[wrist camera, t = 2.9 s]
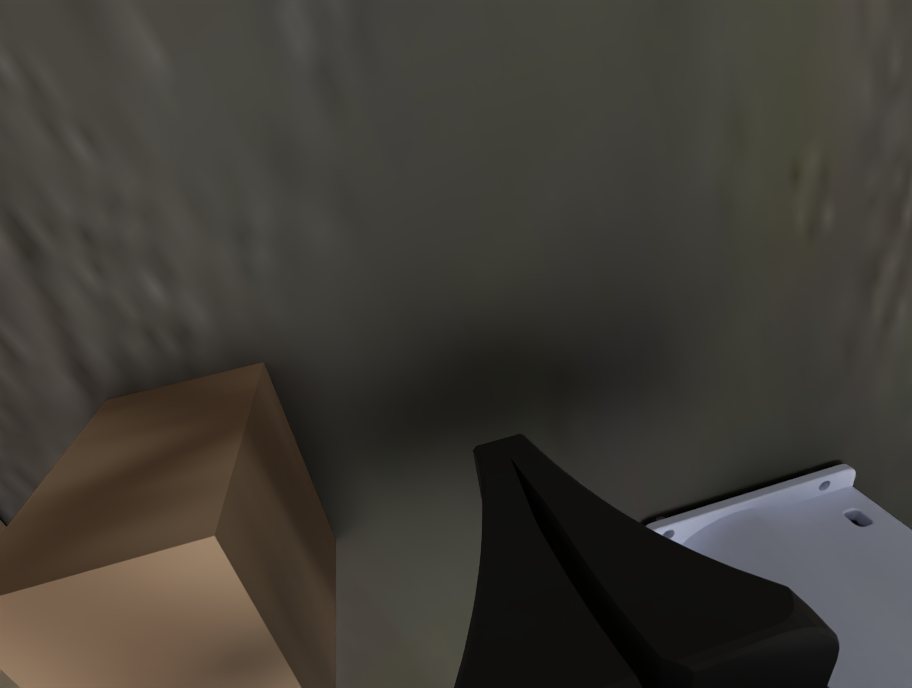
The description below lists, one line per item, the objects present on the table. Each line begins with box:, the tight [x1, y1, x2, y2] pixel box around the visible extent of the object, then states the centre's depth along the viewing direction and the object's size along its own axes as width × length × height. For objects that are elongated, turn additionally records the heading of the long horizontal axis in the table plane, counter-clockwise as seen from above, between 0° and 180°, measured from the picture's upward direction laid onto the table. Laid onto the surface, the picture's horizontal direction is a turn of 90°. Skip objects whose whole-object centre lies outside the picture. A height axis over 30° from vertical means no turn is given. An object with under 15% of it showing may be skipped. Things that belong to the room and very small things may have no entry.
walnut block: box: [0, 362, 336, 688], centre depth 12 cm, size 4×7×6 cm, turn 9°
